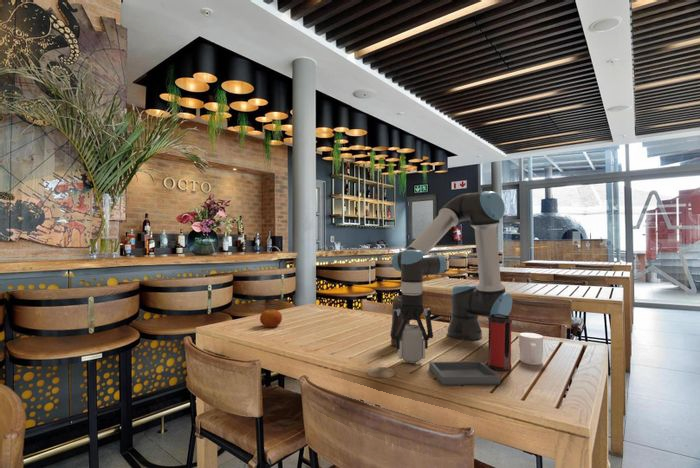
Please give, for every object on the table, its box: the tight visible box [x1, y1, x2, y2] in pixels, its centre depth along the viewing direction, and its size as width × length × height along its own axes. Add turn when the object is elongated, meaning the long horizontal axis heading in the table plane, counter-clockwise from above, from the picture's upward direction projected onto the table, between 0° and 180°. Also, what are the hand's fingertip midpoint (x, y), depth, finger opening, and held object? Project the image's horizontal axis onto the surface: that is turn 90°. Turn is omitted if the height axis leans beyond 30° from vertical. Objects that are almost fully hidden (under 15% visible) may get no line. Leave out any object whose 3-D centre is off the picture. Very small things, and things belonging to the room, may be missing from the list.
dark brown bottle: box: [390, 295, 411, 346], centre depth 155 cm, size 8×7×20 cm
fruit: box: [259, 309, 283, 328], centre depth 184 cm, size 11×10×8 cm
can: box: [401, 323, 423, 364], centre depth 133 cm, size 8×8×12 cm
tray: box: [428, 360, 501, 387], centre depth 121 cm, size 18×14×3 cm
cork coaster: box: [366, 366, 396, 379], centre depth 123 cm, size 9×9×1 cm
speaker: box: [486, 314, 513, 372], centre depth 130 cm, size 8×8×18 cm
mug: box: [518, 332, 544, 366], centre depth 138 cm, size 12×9×8 cm
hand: (411, 357), depth 133 cm, fingers closed on can, 7 cm apart
